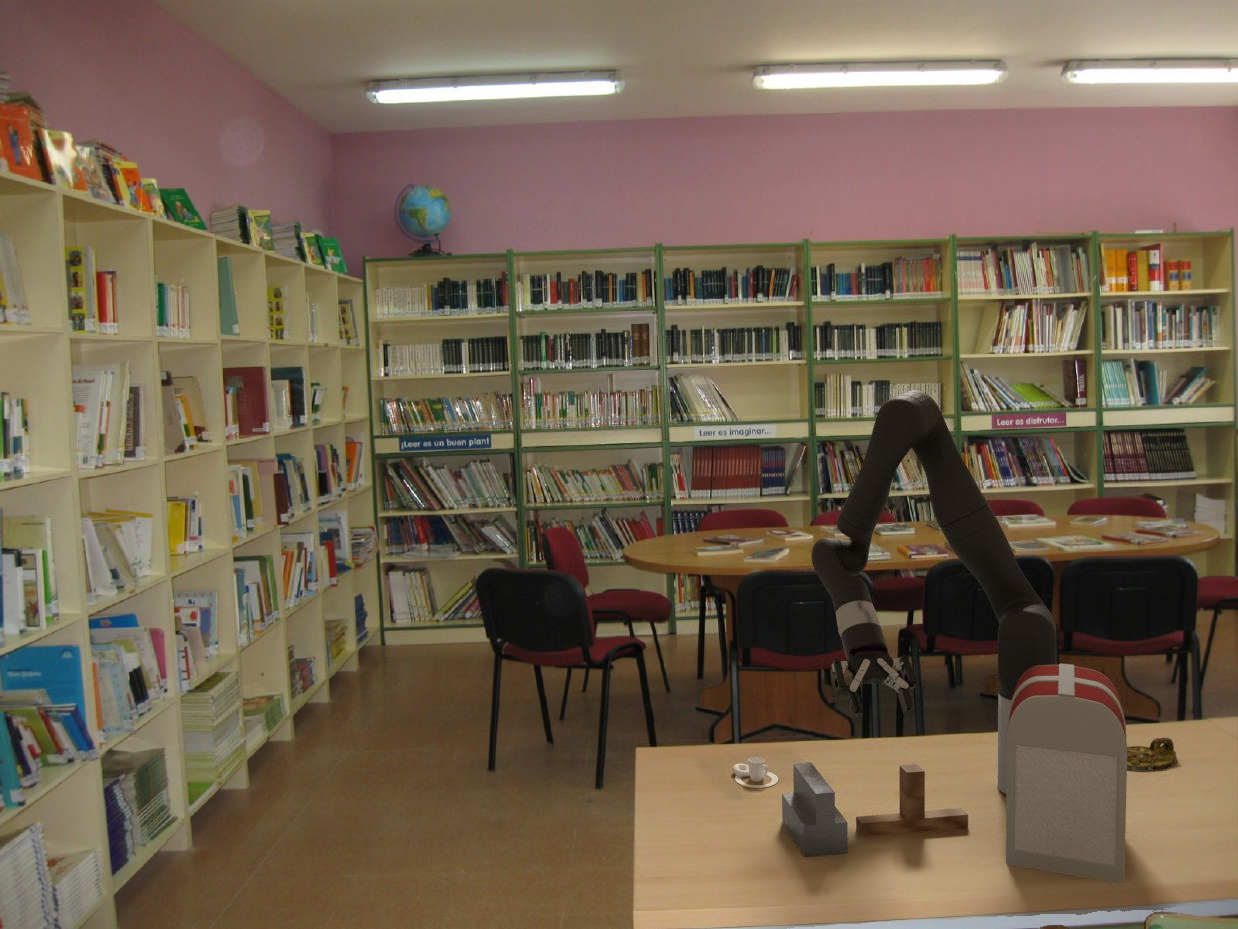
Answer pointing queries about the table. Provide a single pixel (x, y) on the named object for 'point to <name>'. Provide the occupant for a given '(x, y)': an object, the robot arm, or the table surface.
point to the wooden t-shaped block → (911, 811)
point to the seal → (1152, 755)
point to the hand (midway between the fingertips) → (884, 713)
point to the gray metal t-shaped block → (813, 814)
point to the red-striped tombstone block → (1066, 773)
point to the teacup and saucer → (754, 772)
